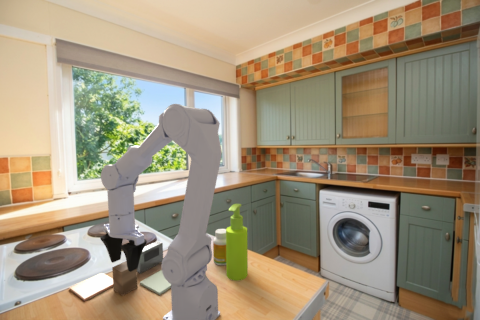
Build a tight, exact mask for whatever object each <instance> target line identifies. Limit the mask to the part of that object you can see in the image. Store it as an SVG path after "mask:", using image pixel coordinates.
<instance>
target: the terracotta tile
mask: <svg viewBox="0 0 480 320" xmlns="http://www.w3.org/2000/svg"><path fill="white" fill-rule="evenodd" d="M111 288H114V287H113V277H111V276H109V275H107V274H105V273H103V272H100V273H98V274H96V275H93V276H91V277H89V278H86V279H85V280H82V281H80V282H78V283H75V284H74V285H72V286H69V290H70V291H71V292H72V293H73V294H75V295H76V296H77V297H79V298H80V299H81V300H83V301H84V302H86V301H88V300H90V299H92V298H93V297H95V296H97V295H99V294H101V293H103V292H105V291H107V290H109V289H111Z"/></svg>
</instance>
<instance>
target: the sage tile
mask: <svg viewBox="0 0 480 320" xmlns="http://www.w3.org/2000/svg"><path fill="white" fill-rule="evenodd" d="M139 285H141V286H142V287H144V288H146V289H147V290H149V291H152V292H153V293H155V294H157V295H159V296H161V295H162V294H164V293H165V292H167V291H168V290H169V289H170V290H171V284H170V283H169V282H168V281H167V280H166V279H165V277H164V275H163V273H162V269H160V270H159V271H157V272H154V274H151V275H150V276H148V277H146V278H144V279H142V280H140V282H139Z"/></svg>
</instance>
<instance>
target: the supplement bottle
mask: <svg viewBox="0 0 480 320" xmlns="http://www.w3.org/2000/svg"><path fill="white" fill-rule="evenodd" d="M214 232H215V233H214V235H215V236H214V238H213V239H212V241H213V242H212V243H213V245H212V246H213V249H212V250H213V251H212V258H213V263H214V264H215V265H217V266H226V228H218V229H216V230H215V231H214Z"/></svg>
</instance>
